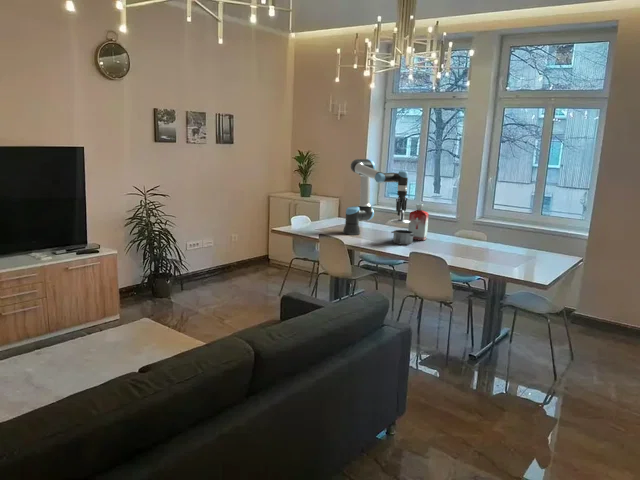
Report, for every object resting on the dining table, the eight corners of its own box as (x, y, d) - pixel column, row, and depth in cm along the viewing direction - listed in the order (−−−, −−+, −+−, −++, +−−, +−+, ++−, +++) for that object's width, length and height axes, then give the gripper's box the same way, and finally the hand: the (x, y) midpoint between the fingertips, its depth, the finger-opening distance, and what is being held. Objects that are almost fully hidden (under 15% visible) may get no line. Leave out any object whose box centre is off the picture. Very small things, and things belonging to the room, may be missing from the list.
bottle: (407, 239, 435) (409, 204, 429) (410, 237, 444) (413, 202, 438) (423, 241, 429) (426, 205, 423) (427, 239, 438) (430, 204, 432)
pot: (387, 241, 421) (387, 231, 419) (397, 239, 433) (397, 228, 431) (408, 245, 408) (409, 234, 406) (418, 243, 420) (419, 232, 418)
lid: (386, 221, 416) (387, 209, 414) (397, 219, 428) (398, 208, 426) (403, 224, 406) (404, 212, 404) (414, 222, 418) (415, 210, 416)
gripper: (400, 191, 403) (398, 220, 408) (411, 190, 416) (410, 218, 420) (392, 190, 408) (390, 219, 413) (403, 189, 421) (402, 217, 425)
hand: (400, 219), depth 417 cm, fingers closed on lid, 4 cm apart
